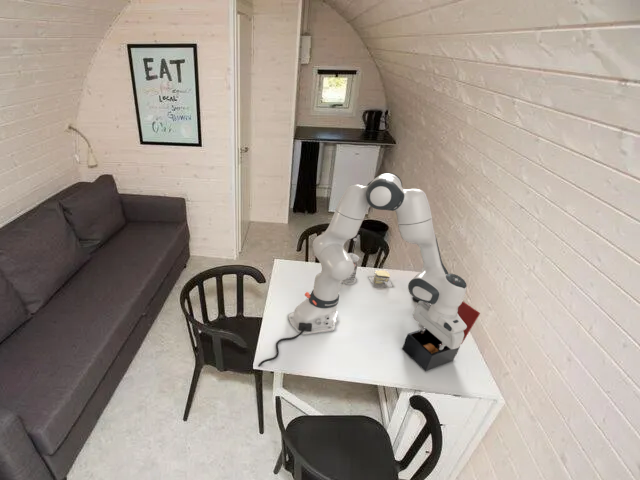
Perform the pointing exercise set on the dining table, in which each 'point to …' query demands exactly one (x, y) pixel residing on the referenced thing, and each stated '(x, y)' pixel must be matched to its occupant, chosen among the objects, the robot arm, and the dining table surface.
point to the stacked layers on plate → (381, 279)
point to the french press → (354, 258)
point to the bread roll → (431, 348)
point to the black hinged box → (422, 355)
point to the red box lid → (467, 317)
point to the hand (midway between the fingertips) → (430, 340)
